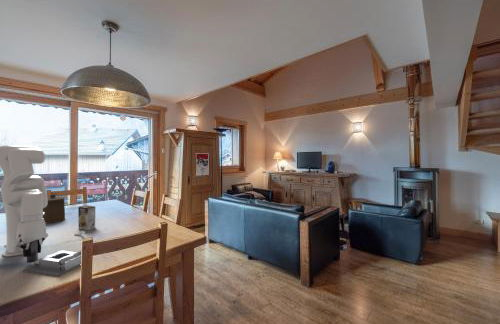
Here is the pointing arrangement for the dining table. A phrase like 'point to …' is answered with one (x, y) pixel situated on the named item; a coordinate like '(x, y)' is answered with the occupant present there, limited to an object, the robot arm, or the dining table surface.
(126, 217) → the dining table surface
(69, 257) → the white grey box
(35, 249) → the dark grey block
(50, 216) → the wooden container
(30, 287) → the dining table surface
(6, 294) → the dining table surface
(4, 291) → the dining table surface
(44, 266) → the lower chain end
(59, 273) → the charcoal mat
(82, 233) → the adjustable wrench
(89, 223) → the coffee box
